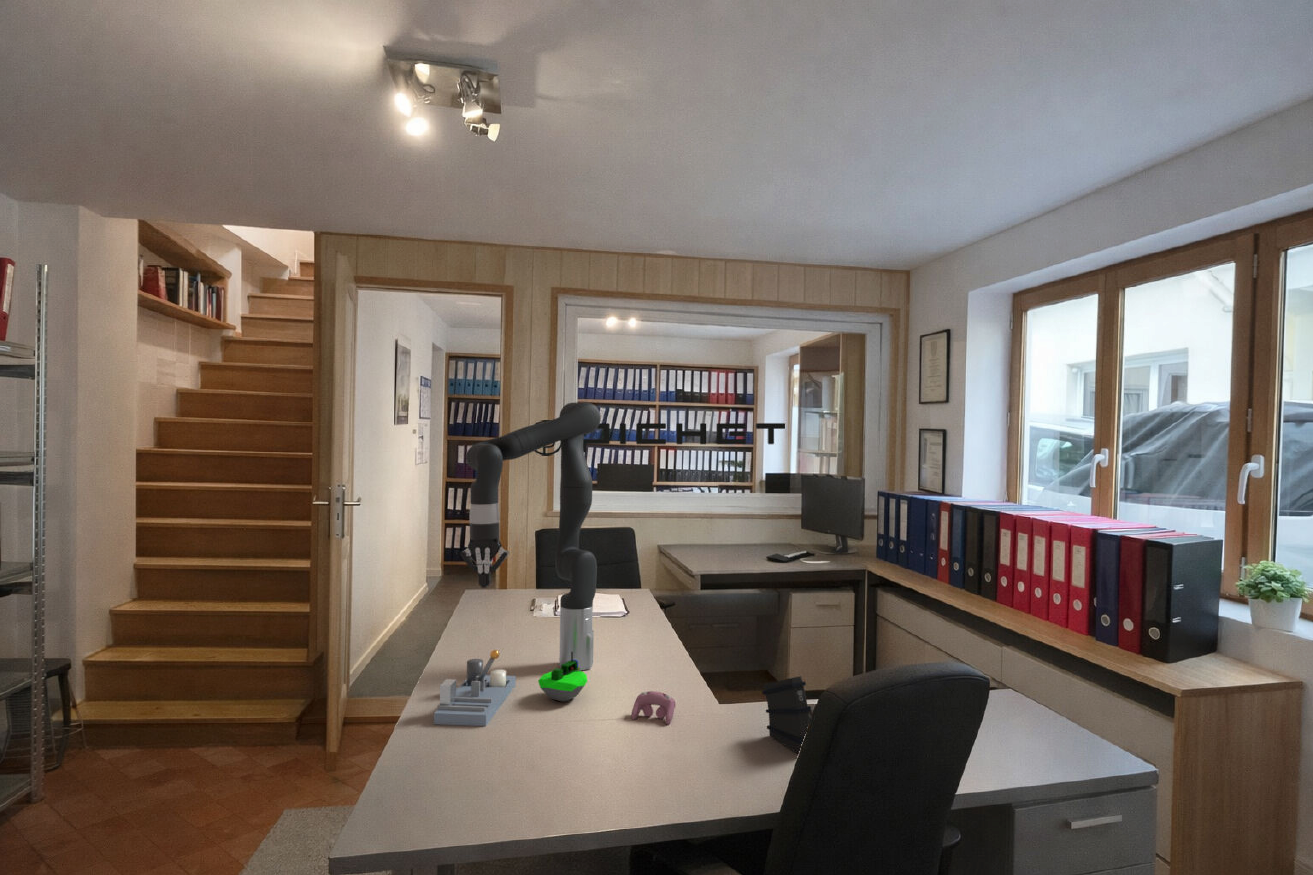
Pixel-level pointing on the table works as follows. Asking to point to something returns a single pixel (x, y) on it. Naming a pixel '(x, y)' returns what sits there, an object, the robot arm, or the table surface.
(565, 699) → the green floating island model
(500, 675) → the button
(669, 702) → the video game controller
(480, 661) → the button
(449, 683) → the slider knob
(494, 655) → the toggle lever
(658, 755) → the table surface
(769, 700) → the magazine
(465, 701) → the panel
